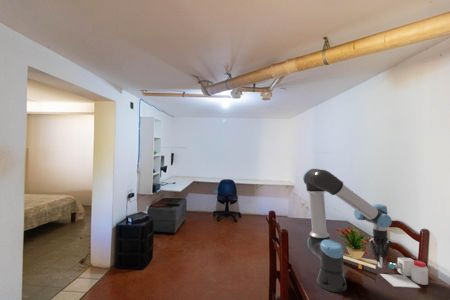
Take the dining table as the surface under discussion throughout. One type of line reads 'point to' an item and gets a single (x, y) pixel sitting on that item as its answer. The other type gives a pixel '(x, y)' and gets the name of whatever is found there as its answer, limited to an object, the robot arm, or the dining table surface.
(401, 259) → the housing
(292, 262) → the dining table surface
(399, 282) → the mat
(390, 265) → the plunger
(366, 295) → the dining table surface
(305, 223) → the dining table surface
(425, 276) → the pill bottle
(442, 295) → the dining table surface
